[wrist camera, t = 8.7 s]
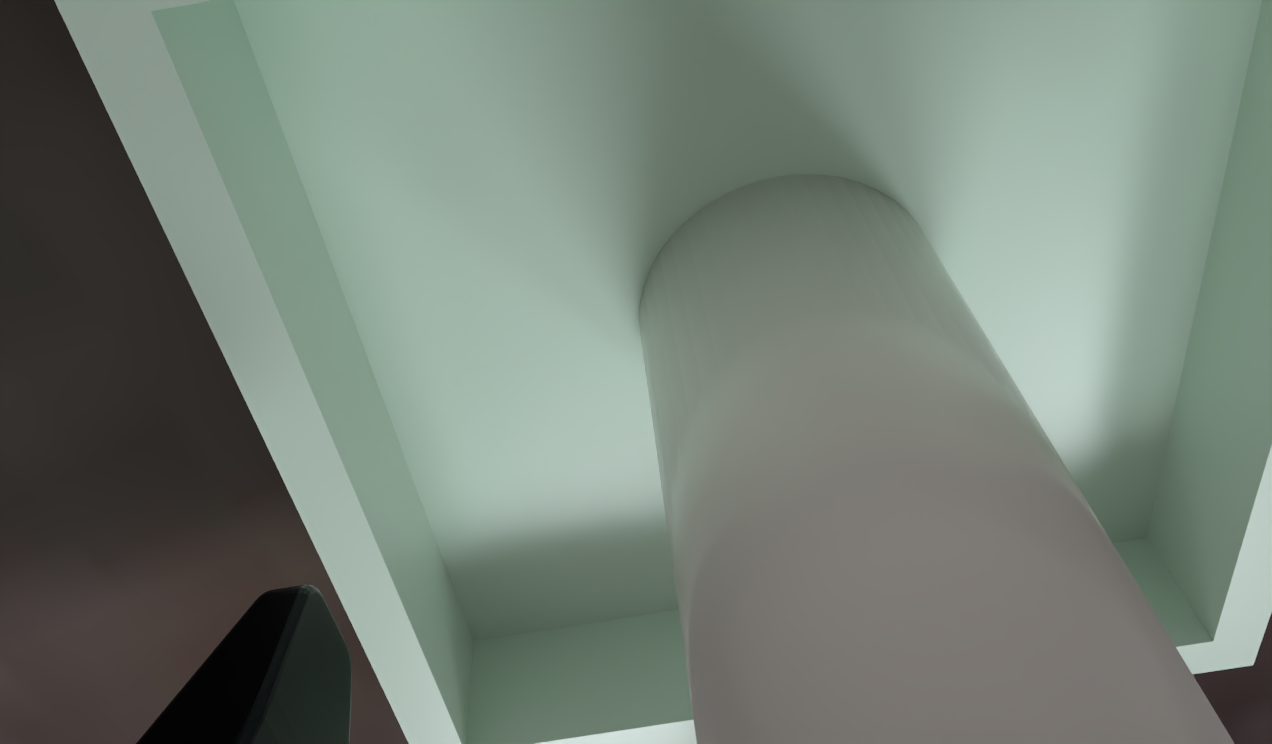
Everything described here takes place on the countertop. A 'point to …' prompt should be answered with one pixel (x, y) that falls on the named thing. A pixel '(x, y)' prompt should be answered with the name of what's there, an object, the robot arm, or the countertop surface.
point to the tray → (624, 253)
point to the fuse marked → (877, 500)
